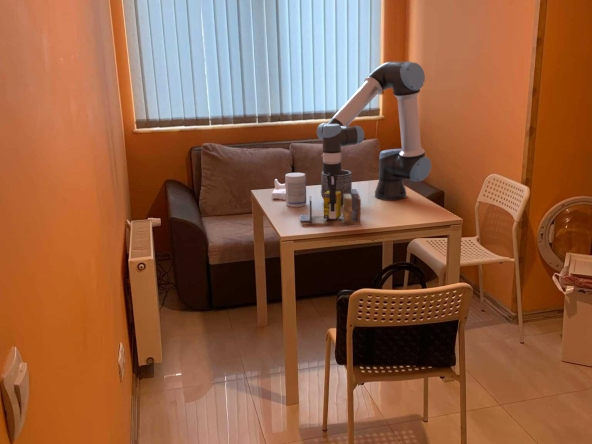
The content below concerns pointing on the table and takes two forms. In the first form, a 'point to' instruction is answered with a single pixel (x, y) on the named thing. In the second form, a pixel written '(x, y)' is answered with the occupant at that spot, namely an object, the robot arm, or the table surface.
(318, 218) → the board
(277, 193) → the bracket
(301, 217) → the bookend
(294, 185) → the supplement tub
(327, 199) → the supplement box
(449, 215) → the table surface
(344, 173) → the planter
